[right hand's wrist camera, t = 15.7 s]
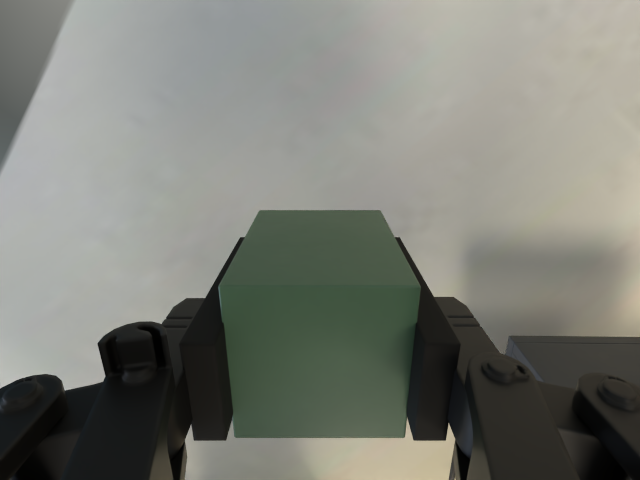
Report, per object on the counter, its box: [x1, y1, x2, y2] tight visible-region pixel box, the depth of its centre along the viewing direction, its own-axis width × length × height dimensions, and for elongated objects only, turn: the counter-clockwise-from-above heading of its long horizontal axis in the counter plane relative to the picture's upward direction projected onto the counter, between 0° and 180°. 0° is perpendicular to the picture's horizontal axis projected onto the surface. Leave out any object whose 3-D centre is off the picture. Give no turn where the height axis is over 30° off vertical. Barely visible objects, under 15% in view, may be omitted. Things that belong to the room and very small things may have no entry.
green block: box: [218, 210, 421, 438], centre depth 12 cm, size 4×4×6 cm
